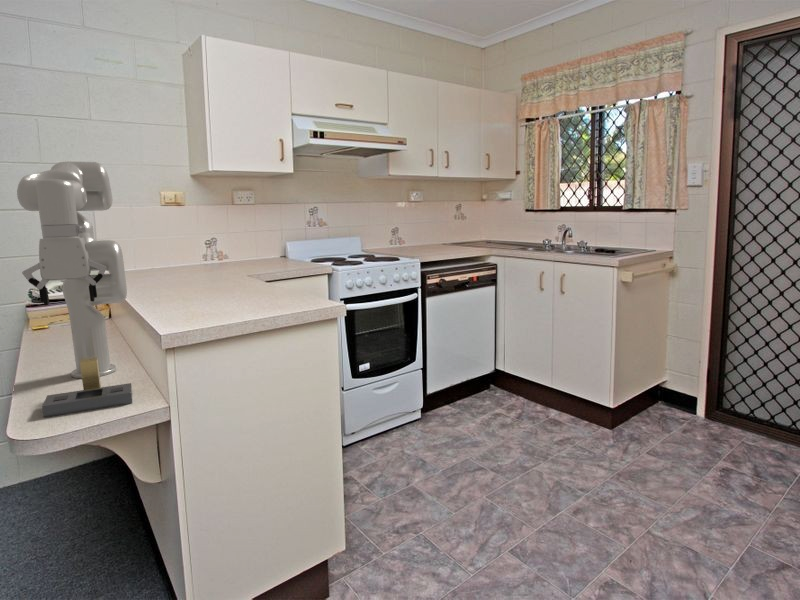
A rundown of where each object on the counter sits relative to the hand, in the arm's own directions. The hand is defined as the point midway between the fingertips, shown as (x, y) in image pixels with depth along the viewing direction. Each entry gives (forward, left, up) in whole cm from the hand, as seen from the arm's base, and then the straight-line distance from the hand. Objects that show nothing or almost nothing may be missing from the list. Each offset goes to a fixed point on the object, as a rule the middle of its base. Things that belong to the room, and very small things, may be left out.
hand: (70, 302), depth 129 cm
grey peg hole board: (-8, +1, -29) cm, 30 cm away
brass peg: (-18, +1, -29) cm, 34 cm away
